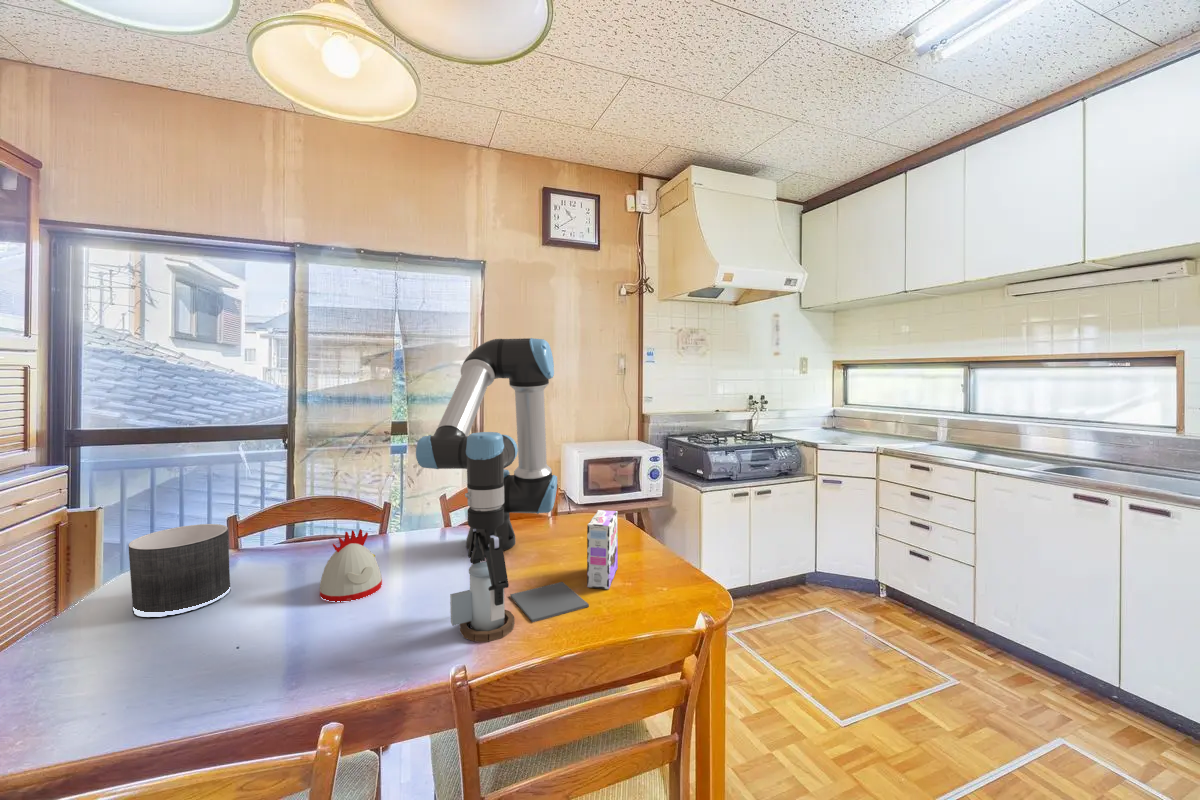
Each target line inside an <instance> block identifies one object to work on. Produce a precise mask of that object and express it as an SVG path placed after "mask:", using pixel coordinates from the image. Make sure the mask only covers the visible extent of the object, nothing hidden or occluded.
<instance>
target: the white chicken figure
mask: <svg viewBox="0 0 1200 800" xmlns="http://www.w3.org/2000/svg"><path fill="white" fill-rule="evenodd" d="M368 535H369V533H368V532H367V531H366V532H365V534H364V535H363V530H362V529H361V528H360V529H359V530H358V533H357V537H356V533H355V531H354V530H353V529H351V534H350V535H349V533H348V531H345V532H344V540H343V539H342V538H341V537H338V541H339V546H337V545H336V544H334V543H332V546H333V549H334V550H335V551H334V552H333V554H332V555H331V556H330V557H329V559H328V560H327V562H326V564H325V566H324V569H323V572H322V576H321V577H320V578H321V579H320V582H319V583H320V584H319V597H320V596H321V597H322V598H323V599H326V600H329V601H335V602H337V601H340V603H342V602H341V601H349V602H352V601H351V600H355V601H357V600H356V599H358V600H361V599H360V598H362V599H364V598H363V597H365V598H367V597H369V596H368V595H370V596H371V594H372V595H374V594H375V593H377V592H378V591H379V590H380V589H381V588H382V586H381V585H383V579H382V578H383V577H382V573H381V570H380V567H379V565H378V562H377V559H376V555H375V554H374V553H373V552H371V551H370V550H369V549H368V547H367V546H364V545H365V543H366V540H367V539H368ZM376 591H377V592H376ZM373 593H374V594H373ZM366 596H367V597H366Z"/></svg>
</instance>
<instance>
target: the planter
mask: <svg viewBox="0 0 1200 800" xmlns="http://www.w3.org/2000/svg"><path fill="white" fill-rule="evenodd" d="M229 546H230V545H229V528H228V526H226V525H224V524H220V523H219V524H217V523H203V524H202V523H201V524H191V525H183V526H178V527H172V528H168V529H167V528H166V529H162V530H158V531H154V532H150V533H148V534H145V535H142V536H139V537H137V538H134V539H133V540H132V541H130V542H129V543H128V558H129V573H130V587H131V602H132V607H134V608H135V609H137V610H140V611H144V612H165V611H173V610H179V609H183V608H188V607H192V606H196V605H199V604H202V603H205V602H208V601H210V600H213V599H215V598H217V597H218V596H220V595H222V594H223V593H225V592H226V591H227V590H228V589H229V587H231V580H230V579H231V576H230V573H231V572H230V549H229Z"/></svg>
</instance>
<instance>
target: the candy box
mask: <svg viewBox="0 0 1200 800" xmlns="http://www.w3.org/2000/svg"><path fill="white" fill-rule="evenodd" d="M586 525H587V527H586V528H587V529H586V532H587V536H586V544H587V545H586V550H587V551H586V553H587V554H586V564H587V565H586V567H587V568H586V570H587V571H586V584H587V585H586V587H587V588H591V589H592V588H593V589H602V590H609V589H610V588H611V585H612V582H613V581H614V578H615V575H616V572H617V570H618V569H619V568H618V564H619V563H618V560H619V559H618V557H619V556H618V553H619V552H618V547H619V546H618V539H619V538H618V510H607V509H606V510H603V509H598V510H596V513H595V514H594V515H593V516H592V518H591V519H590V521H589V522H588V523H587V524H586Z"/></svg>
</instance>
